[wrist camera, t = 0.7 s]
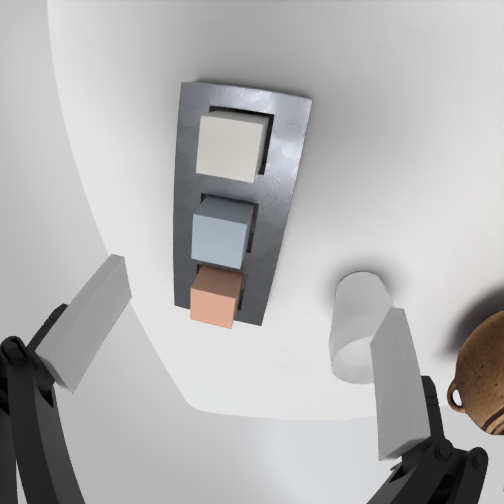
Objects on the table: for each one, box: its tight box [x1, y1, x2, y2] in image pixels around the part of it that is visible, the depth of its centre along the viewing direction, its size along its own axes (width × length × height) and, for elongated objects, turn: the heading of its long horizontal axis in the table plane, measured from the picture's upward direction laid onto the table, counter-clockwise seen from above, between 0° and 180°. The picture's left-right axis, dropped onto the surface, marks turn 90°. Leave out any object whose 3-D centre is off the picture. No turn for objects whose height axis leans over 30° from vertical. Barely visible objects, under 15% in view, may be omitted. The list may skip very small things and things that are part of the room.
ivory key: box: [196, 110, 270, 183], centre depth 25 cm, size 5×5×5 cm
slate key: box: [191, 194, 255, 269], centre depth 30 cm, size 5×5×5 cm
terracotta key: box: [190, 265, 243, 329], centre depth 35 cm, size 5×5×5 cm
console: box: [173, 82, 312, 326], centre depth 33 cm, size 28×12×4 cm, turn 172°
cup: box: [329, 272, 395, 384], centre depth 33 cm, size 9×9×12 cm
